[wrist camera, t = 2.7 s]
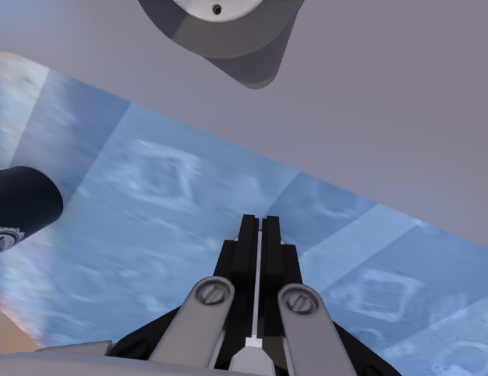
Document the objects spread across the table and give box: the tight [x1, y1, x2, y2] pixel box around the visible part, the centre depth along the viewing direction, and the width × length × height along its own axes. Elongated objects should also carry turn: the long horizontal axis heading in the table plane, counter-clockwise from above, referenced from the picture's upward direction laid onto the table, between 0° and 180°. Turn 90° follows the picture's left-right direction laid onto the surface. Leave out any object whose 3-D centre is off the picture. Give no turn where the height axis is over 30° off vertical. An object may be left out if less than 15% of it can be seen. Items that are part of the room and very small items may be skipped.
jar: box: [231, 231, 285, 376], centre depth 24 cm, size 11×10×15 cm
